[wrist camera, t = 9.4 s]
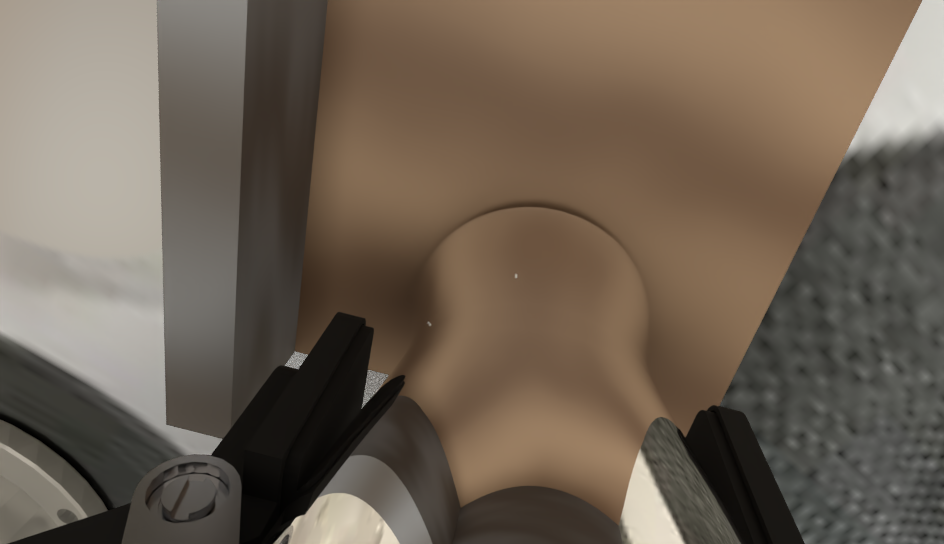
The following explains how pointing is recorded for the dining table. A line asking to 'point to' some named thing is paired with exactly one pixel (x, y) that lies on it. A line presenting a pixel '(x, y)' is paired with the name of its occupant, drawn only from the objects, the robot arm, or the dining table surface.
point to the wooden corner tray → (490, 163)
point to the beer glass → (516, 409)
